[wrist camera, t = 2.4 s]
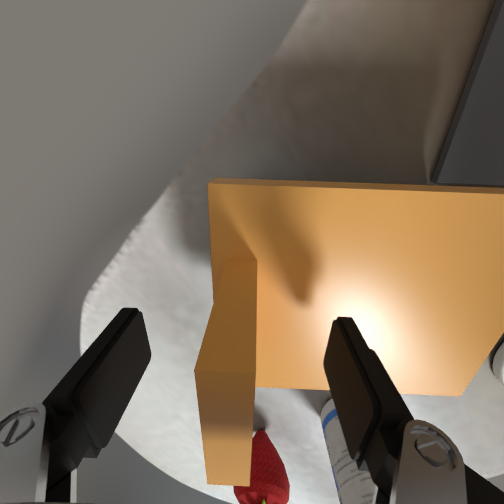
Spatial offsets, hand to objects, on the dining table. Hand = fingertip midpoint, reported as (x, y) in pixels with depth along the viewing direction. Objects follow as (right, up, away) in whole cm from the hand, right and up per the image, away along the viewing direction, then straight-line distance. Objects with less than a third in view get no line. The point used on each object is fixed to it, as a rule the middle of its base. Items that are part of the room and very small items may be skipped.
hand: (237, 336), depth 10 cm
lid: (+7, +1, +3) cm, 7 cm away
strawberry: (+2, -21, +21) cm, 30 cm away
